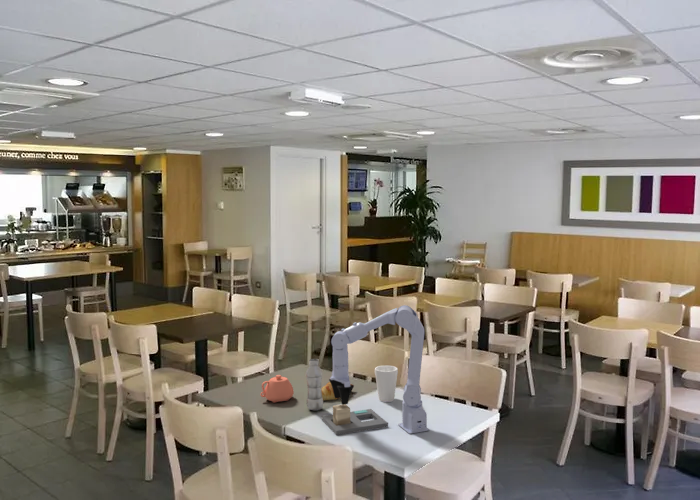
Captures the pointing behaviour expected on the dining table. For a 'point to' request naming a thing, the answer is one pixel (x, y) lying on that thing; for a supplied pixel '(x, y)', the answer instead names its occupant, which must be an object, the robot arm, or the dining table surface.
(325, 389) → the croissant
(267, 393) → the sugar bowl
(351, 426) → the socket panel
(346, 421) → the plug
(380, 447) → the dining table surface
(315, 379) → the plastic bottle
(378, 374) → the foam cup
